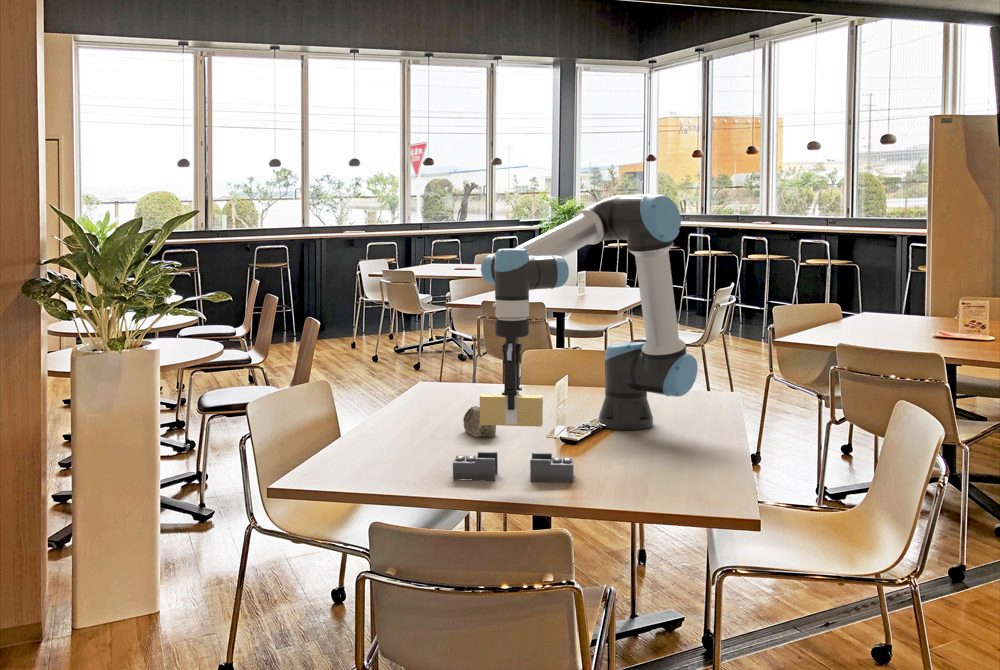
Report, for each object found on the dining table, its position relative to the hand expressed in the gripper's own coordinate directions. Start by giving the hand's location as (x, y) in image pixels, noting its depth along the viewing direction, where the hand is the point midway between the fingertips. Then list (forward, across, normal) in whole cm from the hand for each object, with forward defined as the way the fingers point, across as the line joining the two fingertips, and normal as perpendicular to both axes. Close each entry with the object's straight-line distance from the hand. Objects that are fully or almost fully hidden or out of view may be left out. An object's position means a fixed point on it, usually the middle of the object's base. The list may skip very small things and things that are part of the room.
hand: (512, 421), depth 202 cm
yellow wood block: (+1, 0, 0) cm, 1 cm away
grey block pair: (+13, 0, 0) cm, 13 cm away
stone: (+13, -38, -13) cm, 42 cm away
